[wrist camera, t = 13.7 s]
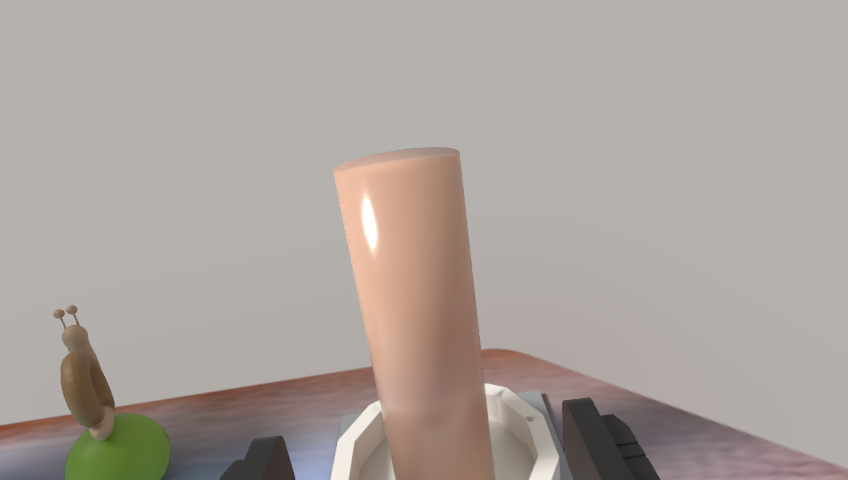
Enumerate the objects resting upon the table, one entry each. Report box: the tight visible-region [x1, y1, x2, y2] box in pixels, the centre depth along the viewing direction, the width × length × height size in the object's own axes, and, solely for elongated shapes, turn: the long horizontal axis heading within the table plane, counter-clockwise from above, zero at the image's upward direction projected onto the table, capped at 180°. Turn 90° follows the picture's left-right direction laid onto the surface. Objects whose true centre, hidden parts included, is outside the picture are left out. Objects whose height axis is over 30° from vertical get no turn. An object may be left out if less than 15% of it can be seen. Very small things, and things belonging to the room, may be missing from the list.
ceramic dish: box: [330, 383, 560, 480], centre depth 27 cm, size 12×12×3 cm
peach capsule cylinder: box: [333, 147, 495, 480], centre depth 24 cm, size 6×6×18 cm
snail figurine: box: [53, 305, 170, 480], centre depth 29 cm, size 5×6×12 cm
